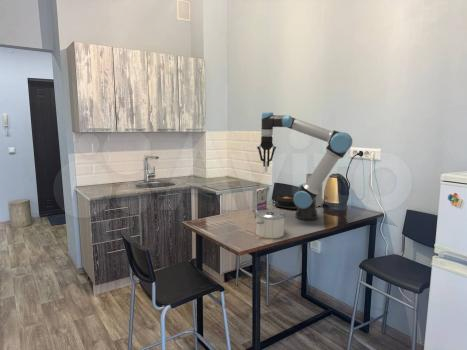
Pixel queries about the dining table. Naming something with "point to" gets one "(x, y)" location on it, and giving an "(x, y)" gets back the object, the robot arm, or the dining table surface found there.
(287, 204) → the casserole
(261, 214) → the lid
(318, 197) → the cylinder vase
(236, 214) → the dining table surface
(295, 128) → the robot arm
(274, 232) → the stockpot
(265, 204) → the candy bar box
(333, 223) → the dining table surface
